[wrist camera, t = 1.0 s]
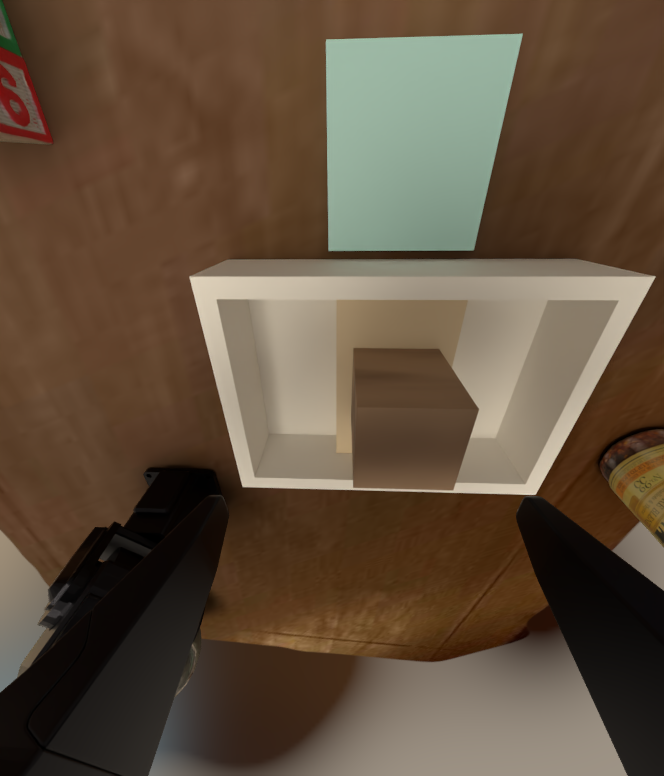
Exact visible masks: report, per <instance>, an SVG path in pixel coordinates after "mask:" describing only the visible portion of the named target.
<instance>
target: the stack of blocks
mask: <svg viewBox="0 0 664 776" xmlns="http://www.w3.org/2000/svg"><path fill="white" fill-rule="evenodd" d="M0 141H2V142H17V143H32V144H48V145H51V144H53V140H52V137H51V134H50V131H49V128H48V126H47V123H46V120H45V117H44V114H43V111H42V109H41V106H40V103H39V100H38V97H37V94H36V92H35V89H34V86H33V83H32V81H31V78H30V75H29V72H28V69H27V66H26V63H25V61H24V59H23V58H22V56H21V53H20V50H19V47H18V44H17V41H16V38H15V36H14V33H13V30H12V27H11V24H10V21H9V19H8V16H7V13H6V10H5V7H4V4H3V1H2V0H0Z"/></svg>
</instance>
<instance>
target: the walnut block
mask: <svg viewBox="0 0 664 776" xmlns="http://www.w3.org/2000/svg"><path fill="white" fill-rule="evenodd" d="M478 411H479V408H478V407H477V405H476V404H475V402H474V401H473V399H472V398H471V396H470V395H469V393H468V392H467V390H466V389H465V387H464V386H463V384H462V383H461V381H460V380H459V378H458V377H457V375H456V374H455V372H454V371H453V369H452V368H451V366H450V365H449V363H448V362H447V360H446V359H445V357H444V356H443V354H442V353H441V351H440V349H400V348H353V374H352V404H351V430H352V466H353V488H382V489H420V490H454V486H455V483H456V480H457V477H458V474H459V471H460V468H461V465H462V461H463V458H464V455H465V452H466V449H467V446H468V443H469V440H470V436H471V433H472V430H473V427H474V424H475V421H476V418H477V415H478Z"/></svg>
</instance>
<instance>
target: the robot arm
mask: <svg viewBox="0 0 664 776" xmlns="http://www.w3.org/2000/svg"><path fill="white" fill-rule="evenodd" d="M143 475H144V477H145V479H146V481H147V483H148V485H149V488H148V489H147V491H146V492H145V494H144V495H143V496H142V498H141V499H140V501H139V502H138V503H137V505H136V506H135V508H134V513H133V514H132V515H131V517H130V518H129V520H128V521H127V523H126V524H125V526H124V527H122V526H121V524H119V523H117V522H115V521H114V522H113V523H112V524H111V525H110V526H109V527H108V528H107V527H105V528H104V527H95V528H94V529H93V530H92V532H91V533H90V534H89V535H88V537H87V538H86V539H85V540H84V542H83V543H82V544H81V546H80V547H79V548H78V549H77V551H76V552H75V553H74V555H73V556H72V557H71V559H70V560H69V561H68V563H67V564H66V566H65V567H64V568H63V570H62V571H61V572H60V574H59V575H58V577H57V578H56V579H55V581H54V582H53V584H52V585H51V586H50V588H49V589H48V596H49V602H48V604H47V606H46V607H45V610H46V611H45V613H44V614H43V616H42V618H41V619H40V620H39V622H38V625H39V626H42V627H46V630H45V631H44V632H43V634H42V635H41V637H40V638H39V640H38V641H37V643H36V644H35V645H34V647H33V648H32V649H31V651H30V652H29V654H28V655H27V656H26V658H25V660H24V661H23V662H22V664H21V666H20V669H19V673H18V677H17V679H15V680H14V681H13V682H12V683H11V684H10V685H8V686H7V687H6V688H5V689H4V690H3V691H2V692H0V776H148V775H149V771H150V769H151V766H152V763H153V760H154V757H155V754H156V751H157V748H158V745H159V742H160V739H161V736H162V733H163V730H164V727H165V724H166V721H167V718H168V715H169V712H170V709H171V706H172V703H173V700H174V697H175V694H176V691H177V688H178V685H179V682H180V679H181V676H182V673H183V670H184V667H185V664H186V661H187V658H188V655H189V652H190V649H191V646H192V644H193V642H194V640H195V638H196V635H197V633H198V631H199V628H200V625H201V622H202V619H203V614H204V610H205V605H206V601H207V598H208V595H209V592H210V589H211V586H212V583H213V580H214V577H215V574H216V571H217V567H218V563H219V558H220V554H221V550H222V545H223V541H224V536H225V532H226V528H227V523H228V519H229V512H228V509H227V506H226V503H225V500H224V498H223V496H222V495H221V491H220V488H219V485H218V482H217V479H216V476H215V473H214V472H213V471H211V470H182V469H147V470H146V471H145V472H144V474H143ZM516 519H517V523H518V526H519V529H520V532H521V535H522V538H523V540H524V543H525V546H526V549H527V552H528V555H529V558H530V561H531V563H532V566H533V569H534V572H535V574H536V577H537V579H538V582H539V584H540V586H541V588H542V590H543V593H544V595H545V597H546V599H547V601H548V604H549V606H550V608H551V610H552V612H553V614H554V616H555V619H556V621H557V623H558V625H559V627H560V630H561V632H562V634H563V636H564V638H565V640H566V642H567V645H568V647H569V649H570V651H571V654H572V656H573V658H574V660H575V662H576V664H577V666H578V669H579V671H580V673H581V675H582V677H583V680H584V682H585V684H586V686H587V688H588V690H589V693H590V695H591V697H592V699H593V701H594V703H595V706H596V708H597V710H598V712H599V714H600V717H601V719H602V721H603V723H604V725H605V727H606V730H607V732H608V734H609V736H610V738H611V741H612V743H613V745H614V747H615V749H616V751H617V753H618V756H619V758H620V760H621V762H622V764H623V767H624V769H625V771H626V773H627V775H628V776H664V591H663V590H662V589H661V588H659V587H658V586H657V585H656V584H654V583H653V582H651V581H650V580H649V579H648V578H646V577H645V576H644V575H642V574H641V573H640V572H639V571H637V570H636V569H635V568H633V567H632V566H631V565H630V564H628V563H627V562H626V561H624V560H623V559H622V558H620V557H619V556H618V555H617V554H615V553H614V552H613V551H611V550H610V549H609V548H607V547H606V546H605V545H603V544H602V543H601V542H600V541H598V540H597V539H596V538H594V537H593V536H592V535H590V534H589V533H588V532H587V531H585V530H584V529H583V528H581V527H580V526H579V525H577V524H576V523H575V522H574V521H572V520H571V519H570V518H568V517H567V516H566V515H564V514H563V513H562V512H561V511H559V510H558V509H557V508H555V507H554V506H553V505H551V504H550V503H549V502H548V501H546V500H545V499H543V498H542V497H539V496H526V497H524V498H523V500H522V502H521V504H520V507H519V509H518V511H517V513H516ZM99 558H100V559H102V560H104V562H103V563H102V562H100V561H98V560H99Z"/></svg>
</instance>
